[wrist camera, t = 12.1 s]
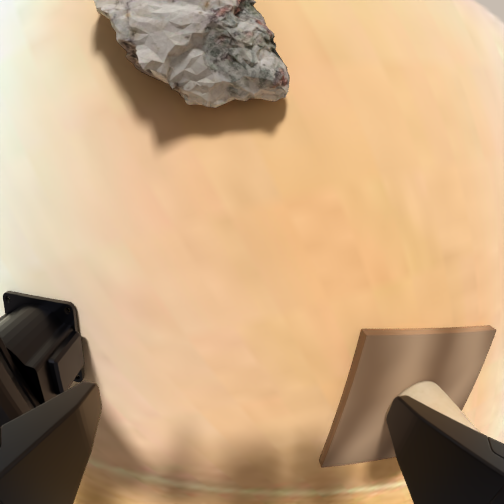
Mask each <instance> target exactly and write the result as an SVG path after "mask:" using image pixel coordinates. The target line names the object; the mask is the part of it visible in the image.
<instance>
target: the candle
mask: <svg viewBox="0 0 504 504" xmlns="http://www.w3.org/2000/svg"><path fill="white" fill-rule="evenodd" d="M402 395H407V396H410V397H411V398H413V399H415V400H417V401H419V402H421V403H423V404H425V405H427V406H428V407H430V408H432V409H434V410H436V411H438V412H440V413H442V414H444V415H446V416H448V417H450V418H452V419H454V420H456V421H458V422H460V423H462V424H464V425H466V426H468V427H470V428H472V429H474V430H476V431H478V432H479V430H478V429H477V428H476V427H475V426H474V425H473V424H472V422H471V421H470V420H469V419H468V418H467V417H466V416H465V414H464V413H463V412H462V411H461V410H460V409H459V408H458V406H457V405H456V404H455V403H454V402H453V401H452V400H451V399H450V398H449V396H448V395H447V394H446V393H445V392H444V391H443V390H442V389H441V388H440V387H439V386H438V385H437V384H436V383H434V382H432V381H422V382H419V383H416V384H414V385H412V386H410V387H408V388H407V389H405V390H404V391H403V392H402V393H400V394H399V395H398V396H402ZM391 404H392V403H391ZM390 406H391V405H390ZM389 409H390V407H389ZM389 409H388V411H389ZM388 411H387V413H388ZM386 417H387V414H386Z"/></svg>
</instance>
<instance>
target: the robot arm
mask: <svg viewBox="0 0 504 504" xmlns="http://www.w3.org/2000/svg"><path fill="white" fill-rule="evenodd" d="M8 297H9V298H10V300H9V298H8ZM3 301H4V308H5V315H3V316H2V317H1V318H0V504H73V503H74V500H75V497H76V494H77V491H78V488H79V485H80V482H81V479H82V476H83V474H84V471H85V468H86V465H87V463H88V460H89V457H90V454H91V451H92V447H93V443H94V439H95V434H96V430H97V426H98V422H99V418H100V414H101V409H102V404H101V398H100V393H99V387H98V385H97V384H96V383H94V382H89V381H83V382H81V381H82V380H83V378H84V370H83V365H84V357H83V350H82V342H81V335H80V334H79V332H78V327H77V317H76V309H75V306H74V304H72V303H71V302H67V301H61V300H56V299H50V298H44V297H39V296H33V295H28V294H23V293H17V292H12V291H7V292H6V293H4V294H3ZM66 307H67V308H69V309H70V312H69V311H68V310H67V308H66ZM77 375H79V376H77ZM73 381H76V382H81V383H79V384H77V385H75V386H74V387H72V388H70V389H68V388H69V387H70V385H71V384H72V382H73ZM386 422H387V426H388V430H389V433H390V437H391V440H392V444H393V448H394V451H395V455H396V458H397V461H398V464H399V466H400V469H401V471H402V474H403V476H404V479H405V481H406V484H407V487H408V489H409V492H410V495H411V497H412V500H413V502H414V504H504V444H503V443H501V442H499V441H497V440H494V439H492V438H490V437H487V436H486V435H484V434H482V433H480V432H478V431H476V430H474V429H472V428H470V427H468V426H466V425H464V424H462V423H460V422H458V421H456V420H454V419H452V418H450V417H448V416H446V415H444V414H442V413H440V412H438V411H436V410H434V409H432V408H430V407H428V406H427V405H425V404H423V403H421V402H419V401H417V400H415V399H413V398H411V397H410V396H407V395H402V396H397V397H395V398H394V399H393V402H392V404H391V406H390V409H389V411H388V413H387V417H386Z"/></svg>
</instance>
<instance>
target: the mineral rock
mask: <svg viewBox="0 0 504 504" xmlns="http://www.w3.org/2000/svg"><path fill="white" fill-rule="evenodd" d="M94 2H95V5H96V8H97V11H98V13H100V14H102V15H104V16H105V17H106V18H108V19H110V22H111V25H112V27H113V29H114V30H115V31H116V40H117V42H118V43H119V44H120V45H121V46H122V47H123V48H124V49H125V50H126V51H127V55H126V58H127V59H128V60H129V61H131V62H132V63H133V64H134V66H135V67H136V68H137V69H138V70H140V71H141V72H143V73H145V74H147V75H149V76H152V77H153V78H156V79H157V80H161V81H163V82H165V83H168V84H169V85H170V86H171V89H173V90H175V91H177V92H179V94H180V96H181V97H183V98H184V99H185V102H186V103H187V104H188V105H194V104H197V105H204V106H206V107H212V108H217V107H218V106H221V105H223V104H225V103H227V102H230V101H232V100H234V99H236V100H242V101H247V100H248V99H264V100H268V101H277V100H279V99H280V98H285V97H286V94H287V92H288V88H289V74H288V72H287V67H286V65H285V64H284V63H283V61H282V59H281V58H280V56H279V55H278V53H277V52H276V50H275V48H276V44H275V43H274V41H273V38H274V37H275V36H274V33H273V32H272V31H271V30H269V29H268V27H267V26H266V25H265V24H266V23H265V20H264V18H263V17H262V15H261V14H260V13H259V12H258V11H257V10H256V9H255V8H254V6H253V5H254V4H255V3H256V1H254V0H94Z"/></svg>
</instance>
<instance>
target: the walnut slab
mask: <svg viewBox="0 0 504 504" xmlns="http://www.w3.org/2000/svg"><path fill="white" fill-rule="evenodd" d="M495 333H496V329H494V328H493V327H491V326H474V327H454V328H425V329H361V333H360V337H359V340H358V344H357V348H356V351H355V355H354V358H353V362H352V365H351V369H350V372H349V375H348V379H347V382H346V385H345V388H344V392H343V395H342V398H341V401H340V404H339V407H338V410H337V413H336V416H335V419H334V421H333V424H332V427H331V430H330V433H329V435H328V438H327V441H326V443H325V446H324V449H323V451H322V454H321V456H320V459H319V461H320V464H321V467H332V466H340V465H349V464H356V463H363V462H369V461H375V460H381V459H386V458H392V457H396V455H395V451H394V448H393V444H392V440H391V437H390V433H389V430H388V426H387V422H386V414H387V411H388V409H389V407H390V405H391V403H392V402H393V399H394V398H395V397H397V396H398V395H399V394H400V393H402V392H403V391H404V390H405V389H407V388H408V387H410V386H412V385H414V384H416V383H419V382H422V381H432V382H434V383H436V384H437V385H438V386H439V387H440V388H441V389H442V390H443V391H444V392H445V393H446V394H447V395H448V396H449V398H450V399H451V400H452V401H453V402H454V403H455V404H456V405H457V406H458V408H459V409H460V410H461V411H462V409H463V407H464V405H465V403H466V401H467V399H468V397H469V395H470V393H471V391H472V388H473V386H474V384H475V382H476V380H477V378H478V375H479V373H480V371H481V368H482V366H483V364H484V361H485V359H486V356H487V354H488V351H489V349H490V346H491V343H492V341H493V338H494V335H495Z"/></svg>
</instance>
